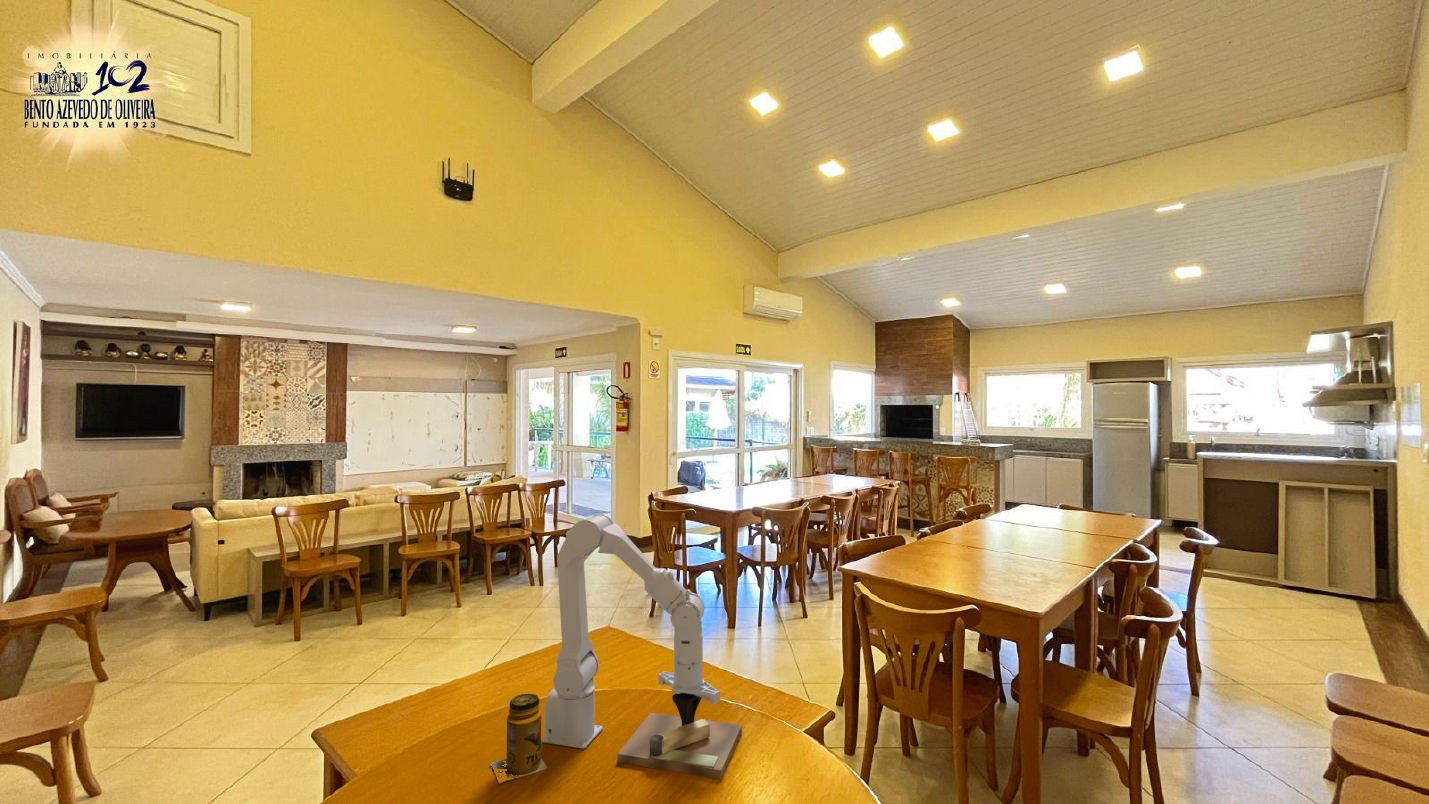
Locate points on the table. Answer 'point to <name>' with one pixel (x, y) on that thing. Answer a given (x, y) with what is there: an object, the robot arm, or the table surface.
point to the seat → (683, 748)
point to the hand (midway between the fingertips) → (688, 730)
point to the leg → (679, 737)
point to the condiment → (523, 738)
